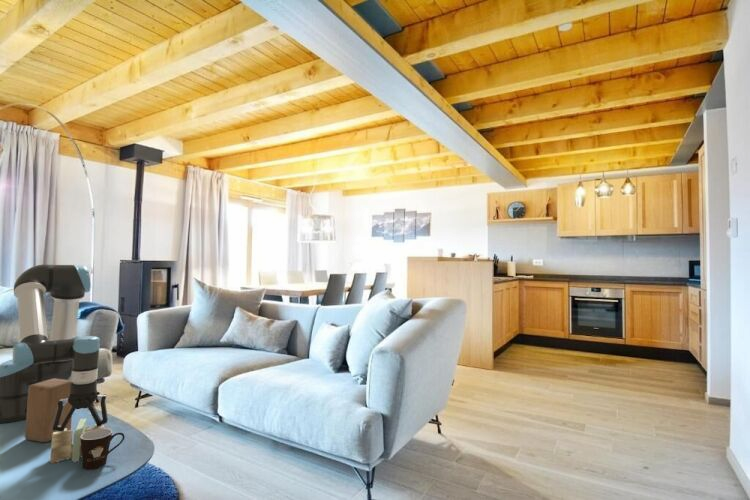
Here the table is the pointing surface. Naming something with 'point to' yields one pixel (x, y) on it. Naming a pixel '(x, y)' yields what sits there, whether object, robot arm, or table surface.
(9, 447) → the table surface
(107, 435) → the coffee mug
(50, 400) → the wooden block
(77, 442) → the sage board
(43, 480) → the table surface
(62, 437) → the birch board
